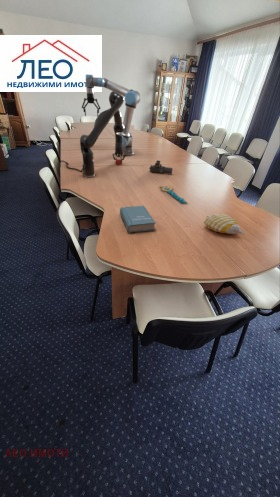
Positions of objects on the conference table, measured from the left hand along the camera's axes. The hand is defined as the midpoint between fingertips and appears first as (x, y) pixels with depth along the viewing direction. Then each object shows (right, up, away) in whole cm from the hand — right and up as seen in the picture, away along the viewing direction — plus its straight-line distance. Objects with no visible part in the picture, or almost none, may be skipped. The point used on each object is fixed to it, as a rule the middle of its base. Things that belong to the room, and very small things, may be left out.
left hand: (118, 163), depth 233 cm
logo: (+49, -46, -57) cm, 89 cm away
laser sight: (+43, -14, -14) cm, 47 cm away
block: (0, 0, 0) cm, 0 cm away
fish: (+73, -78, -97) cm, 145 cm away
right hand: (-32, +59, +14) cm, 68 cm away
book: (+20, -73, -96) cm, 122 cm away
